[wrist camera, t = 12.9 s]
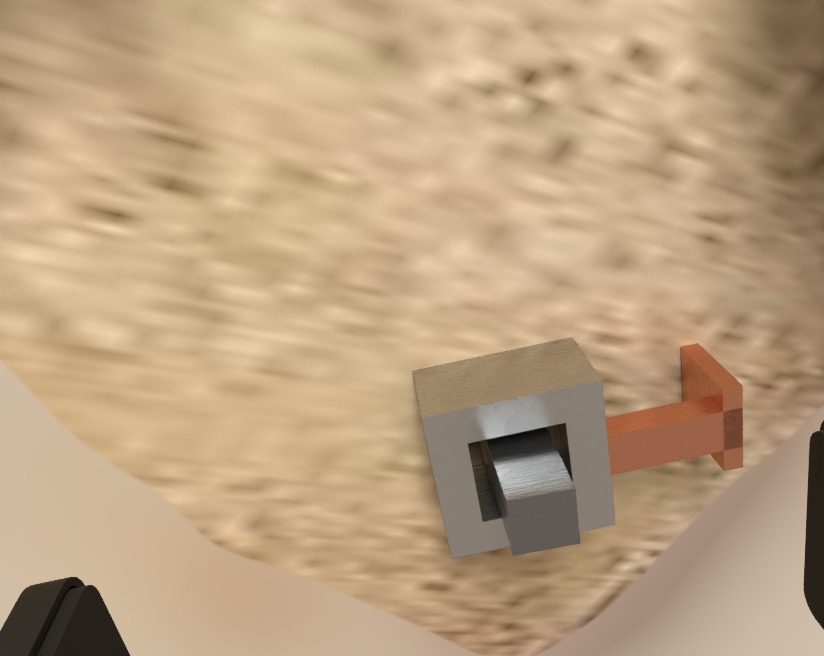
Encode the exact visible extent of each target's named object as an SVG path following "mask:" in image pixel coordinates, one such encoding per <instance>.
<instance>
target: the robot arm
mask: <svg viewBox="0 0 824 656" xmlns="http://www.w3.org/2000/svg"><path fill="white" fill-rule="evenodd" d="M804 594H805V598H806V601H807V604H808V607H809V608H810V610H811V612H812V614H813V616H814V617H815V619H816V620H817V621H818V623H819V624H820V625H821V627H822V628H823V629H824V421H823V423H822V424H821V428H820V431H817V432H815V433H813V434H812V436H811V438H810V448H809V472H808V496H807V519H806V544H805V568H804ZM0 656H130V654H129V652H128V650H127V648H126V646H125V644H124V642H123V640H122V638H121V636H120V634H119V632H118V630H117V628H116V626H115V624H114V622H113V620H112V617H111V615H110V614H109V612H108V609H107V607H106V605H105V603H104V601H103V599H102V597H101V595H100V593H99V591H98V590H97V588H95V587H94V586H93V585H88V586H85V585H84V583H83V582H82V581H81V580H80V579H78V578H77V577H69V578H64V579H59V580H55V581H50V582H45V583H40V584H36V585H31V586H29V587H27V588H26V589H25V590H24V591H23V592H22V593H21V595H20V596H19V598H18V600H17V602H16V604H15V605H14V607H13V609H12V611H11V613H10V614H9V616H8V618H7V620H6V622H5V623H4V625H3V627H2V629H1V631H0Z"/></svg>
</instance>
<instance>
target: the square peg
mask: <svg viewBox="0 0 824 656" xmlns="http://www.w3.org/2000/svg"><path fill="white" fill-rule="evenodd" d="M480 448H481V452H482V455H483V459H484V462H485V465H486V468H487V472H488V475H489V478H490V481H491V485H492V488H493V491H494V494H495V498H496V501H497V504H498V507H499V511H500V514H501V517H502V520H503V523H504V527H505V530H506V533H507V536H508V540H509V543H510V546H511V549H512V553H513V556H514V555H519V554H525V553H530V552H535V551H541V550H546V549H552V548H557V547H562V546H568V545H573V544H579V543H580V537H579V524H578V512H577V499H576V488H575V486H574V484H573V482H572V480H571V478H570V476H569V474H568V471H567V469H566V467H565V465H564V463H563V461H562V459H561V457H560V455H559V453H558V451H557V449H556V447H555V445H554V442H553V440H552V438H551V436H550V434H549V432H548V430H547V428H546V427H543V428H538V429H534V430H529V431H524V432H520V433H515V434H510V435H505V436H501V437H496V438H491V439H486V440H482V441H480Z"/></svg>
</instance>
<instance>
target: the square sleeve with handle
mask: <svg viewBox="0 0 824 656" xmlns="http://www.w3.org/2000/svg"><path fill="white" fill-rule="evenodd" d="M681 369H682V393H683V402H679V403H675V404H670V405H665V406H660V407H656V408H651V409H646V410H641V411H637V412H632V413H627V414H622V415H618V416H613V417H608V418H605V409H604V398H603V387H602V379H601V378H600V377H599V375H598V374H597V372H596V371H595V369H594V368H593V366H592V365H591V364H590V362H589V361H588V359H587V358H586V356H585V355H584V353H583V352H582V351H581V349H580V348H579V346H578V345H577V343H576V342H575V340H574V339H573V338H568V339H563V340H558V341H554V342H549V343H544V344H540V345H535V346H530V347H525V348H521V349H516V350H511V351H506V352H502V353H497V354H492V355H487V356H483V357H478V358H473V359H468V360H464V361H459V362H454V363H450V364H445V365H440V366H435V367H431V368H426V369H421V370H416V371H412V372H413V377H414V383H415V388H416V393H417V399H418V404H419V409H420V415H421V420H422V424H423V429H424V434H425V438H426V443H427V447H428V452H429V457H430V461H431V466H432V470H433V475H434V479H435V484H436V489H437V493H438V498H439V502H440V507H441V512H442V516H443V521H444V525H445V530H446V535H447V539H448V544H449V548H450V553H451V558H452V559H454V558H458V557H463V556H468V555H473V554H477V553H482V552H487V551H492V550H496V549H501V548H506V547H510V543H509V540H508V536H507V533H506V530H505V527H504V523H503V520H502V517H501V514H500V511H499V507H498V504H497V501H496V498H495V494H494V491H493V488H492V485H491V481H490V478H489V475H488V472H487V468H486V465H485V464H482V465H477V466H473V467H472V463H471V458H470V453H469V448H468V443H472V442H477V441H482V440H486V439H491V438H496V437H501V436H505V435H510V434H515V433H520V432H524V431H529V430H534V429H538V428H543V427H548V432H549V434H550V436H551V438H552V440H553V442H554V445H555V447H556V449H557V451H558V453H559V455H560V457H561V459H562V461H563V463H564V465H565V467H566V469H567V471H568V474H569V476H570V478H571V480H572V482H573V484H574V486H575V488H576V499H577V512H578V524H579V532H582V531H586V530H591V529H596V528H600V527H605V526H610V525H615V514H614V503H613V493H612V482H611V474H616V473H621V472H625V471H630V470H635V469H640V468H644V467H649V466H654V465H659V464H663V463H668V462H673V461H678V460H682V459H687V458H692V457H697V456H701V455H706V454H710V455H711V456H712V457H713V458H714V459H715V461H716V462H717V463H718V464H719V465H720V467H721V468H722V469H723V470H724V471H727V470H732V469H736V468H741V467H743V408H742V385H741V384H740V383H739V382H738V381H737V380H736V379H735V378H734V377H733V376H732V375H731V374H730V373H729V372H728V371H727V370H726V369H725V368H723V367H722V366H721V365H720V364H719V363H718V362H717V361H716V360H715V359H714V358H713V357H712V356H711V355H710V354H709V353H708V352H707V351H705V350H704V349H703V348H702V347H701V346H700V345H699V344H693V345H688V346H683V347H681Z"/></svg>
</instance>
